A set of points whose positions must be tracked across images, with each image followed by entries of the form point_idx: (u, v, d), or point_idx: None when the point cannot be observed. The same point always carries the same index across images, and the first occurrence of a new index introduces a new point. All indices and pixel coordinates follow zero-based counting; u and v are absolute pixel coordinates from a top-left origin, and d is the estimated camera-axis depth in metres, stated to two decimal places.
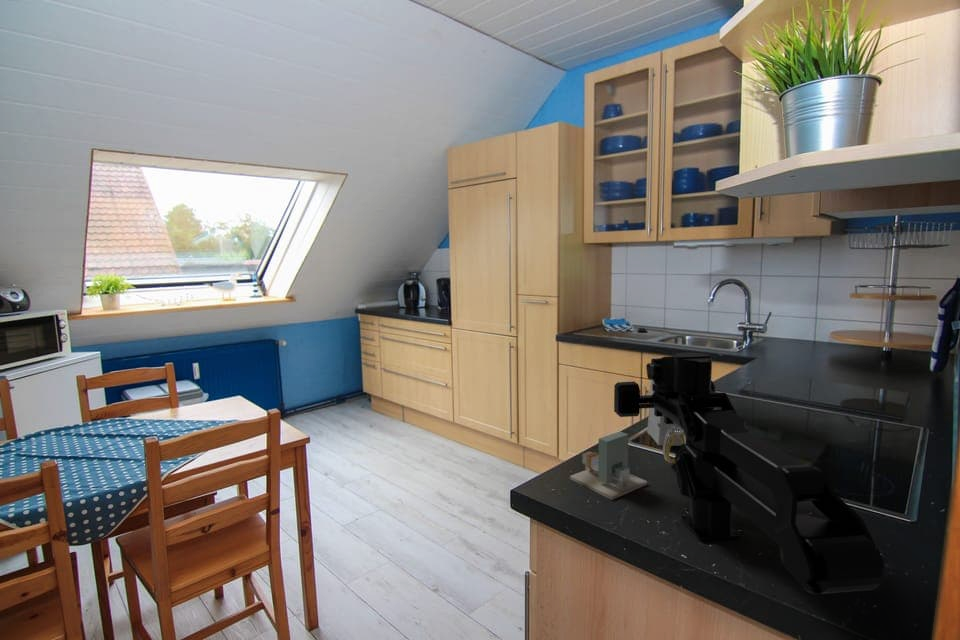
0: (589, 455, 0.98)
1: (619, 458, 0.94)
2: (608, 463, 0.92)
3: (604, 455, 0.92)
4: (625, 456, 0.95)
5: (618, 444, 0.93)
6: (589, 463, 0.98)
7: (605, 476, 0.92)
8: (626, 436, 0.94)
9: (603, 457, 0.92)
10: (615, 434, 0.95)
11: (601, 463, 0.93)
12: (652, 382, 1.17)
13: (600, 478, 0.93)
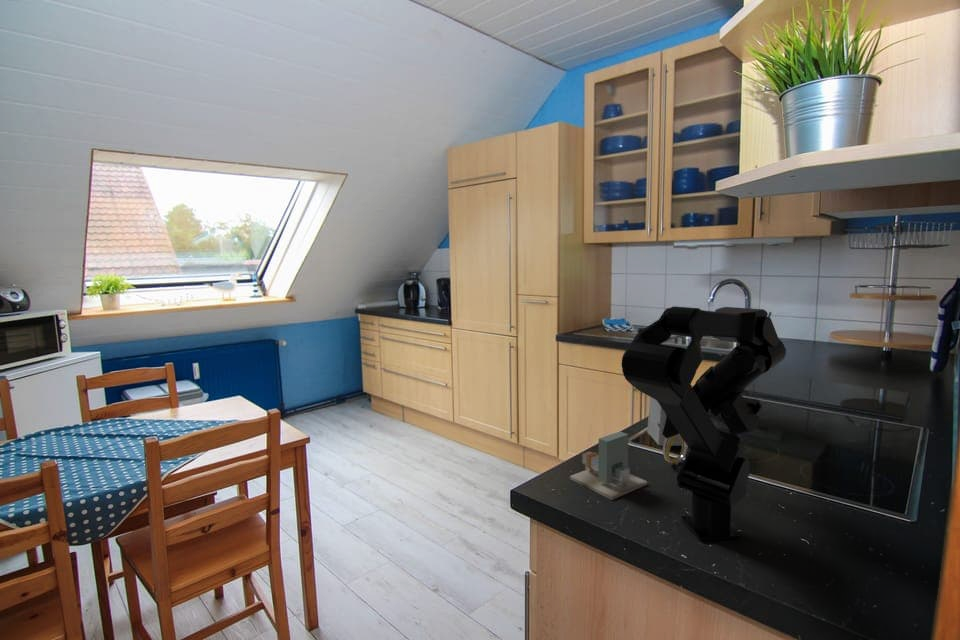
0: (589, 455, 0.98)
1: (619, 458, 0.94)
2: (608, 463, 0.92)
3: (604, 455, 0.92)
4: (625, 456, 0.95)
5: (618, 444, 0.93)
6: (589, 463, 0.98)
7: (605, 476, 0.92)
8: (626, 436, 0.94)
9: (603, 457, 0.92)
10: (615, 434, 0.95)
11: (601, 463, 0.93)
12: None
13: (600, 478, 0.93)
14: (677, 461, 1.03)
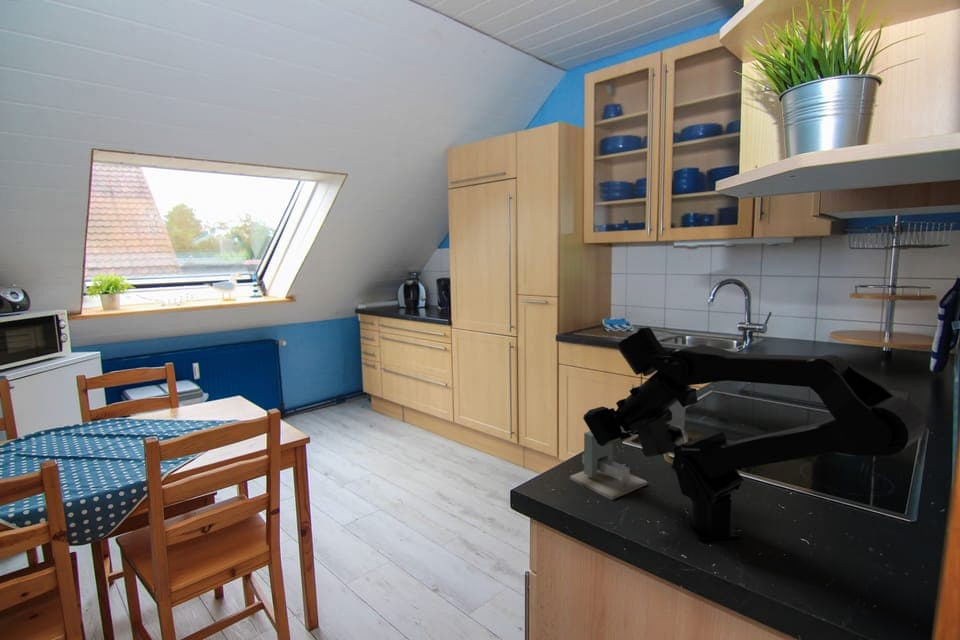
0: None
1: (604, 452, 0.97)
2: (593, 457, 0.95)
3: (589, 449, 0.95)
4: (610, 450, 0.98)
5: None
6: None
7: (590, 469, 0.95)
8: None
9: (589, 450, 0.95)
10: None
11: (587, 457, 0.96)
12: None
13: (586, 471, 0.96)
14: None
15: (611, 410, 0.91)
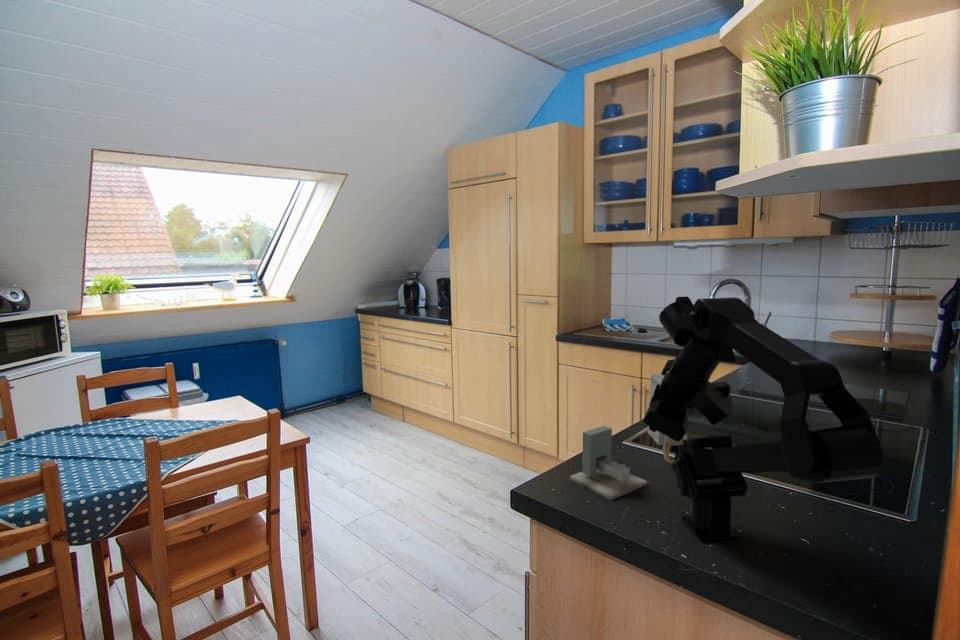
0: None
1: (603, 451, 0.97)
2: (592, 456, 0.95)
3: (588, 449, 0.95)
4: (609, 449, 0.98)
5: (601, 437, 0.96)
6: None
7: (589, 469, 0.96)
8: (610, 430, 0.98)
9: (587, 450, 0.96)
10: (599, 428, 0.98)
11: (585, 456, 0.96)
12: (652, 382, 1.17)
13: (584, 471, 0.97)
14: None
15: (653, 399, 0.84)
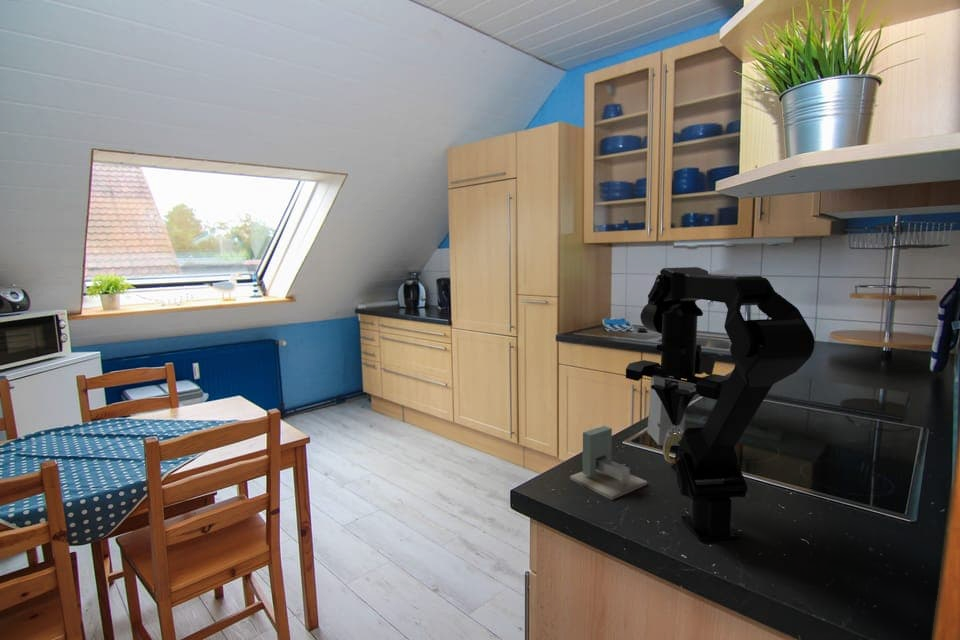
0: None
1: (603, 451, 0.97)
2: (592, 456, 0.95)
3: (588, 449, 0.95)
4: (609, 449, 0.98)
5: (601, 437, 0.96)
6: None
7: (589, 469, 0.96)
8: (610, 430, 0.98)
9: (587, 450, 0.96)
10: (599, 428, 0.98)
11: (585, 456, 0.96)
12: (652, 382, 1.17)
13: (584, 471, 0.97)
14: None
15: (676, 391, 0.85)
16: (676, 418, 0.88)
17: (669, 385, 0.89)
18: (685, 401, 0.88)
